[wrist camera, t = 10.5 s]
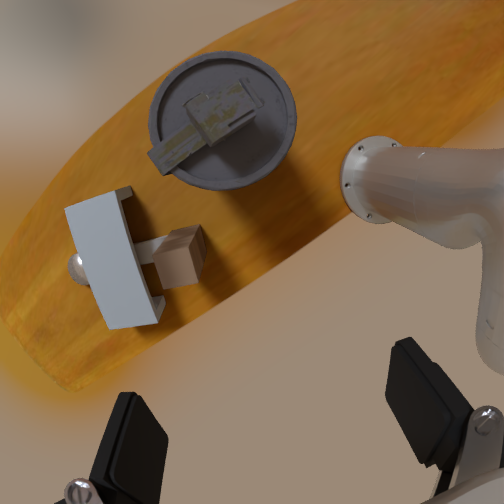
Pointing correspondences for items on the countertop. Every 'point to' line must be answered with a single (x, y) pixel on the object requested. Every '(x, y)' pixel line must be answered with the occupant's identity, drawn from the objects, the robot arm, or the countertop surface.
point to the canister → (221, 121)
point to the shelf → (112, 261)
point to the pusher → (175, 256)
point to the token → (77, 270)
